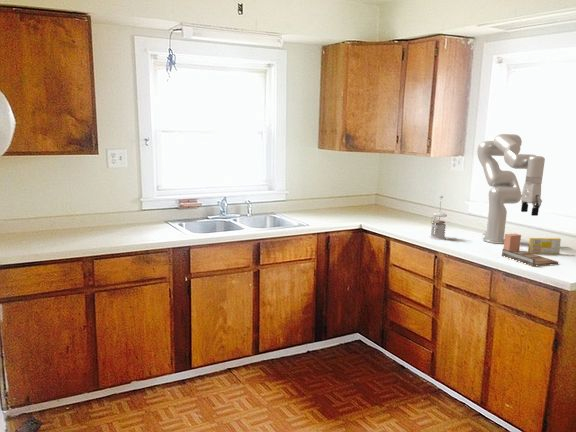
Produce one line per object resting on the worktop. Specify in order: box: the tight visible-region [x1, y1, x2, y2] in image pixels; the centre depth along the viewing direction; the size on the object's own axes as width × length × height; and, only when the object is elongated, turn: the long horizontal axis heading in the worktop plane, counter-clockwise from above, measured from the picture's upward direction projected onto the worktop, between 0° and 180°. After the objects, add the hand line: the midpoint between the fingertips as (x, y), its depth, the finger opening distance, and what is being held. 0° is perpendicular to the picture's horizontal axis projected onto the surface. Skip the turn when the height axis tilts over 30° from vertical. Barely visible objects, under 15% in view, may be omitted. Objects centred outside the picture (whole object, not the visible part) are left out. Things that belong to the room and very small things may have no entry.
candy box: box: [527, 237, 562, 255], centre depth 265 cm, size 16×2×8 cm, turn 93°
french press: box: [428, 195, 448, 241], centre depth 293 cm, size 10×12×25 cm
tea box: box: [502, 233, 522, 253], centre depth 267 cm, size 4×7×9 cm, turn 110°
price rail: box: [501, 248, 535, 264], centre depth 247 cm, size 20×1×2 cm, turn 20°
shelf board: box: [501, 251, 559, 267], centre depth 250 cm, size 20×16×1 cm
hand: (529, 213), depth 259 cm, fingers open, 9 cm apart
